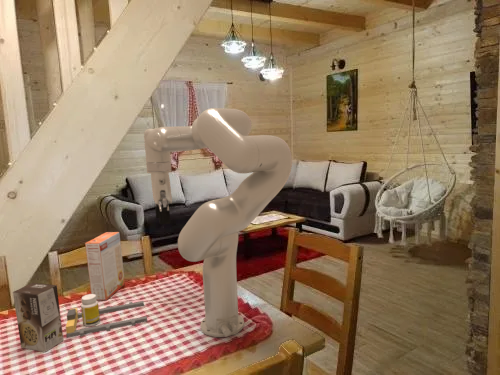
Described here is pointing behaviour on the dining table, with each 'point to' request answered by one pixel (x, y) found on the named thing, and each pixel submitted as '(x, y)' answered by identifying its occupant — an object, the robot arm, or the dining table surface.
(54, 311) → the coffee box
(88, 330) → the gray parallel rail frame
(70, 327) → the long yellow crossbar
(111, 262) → the cracker box
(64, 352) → the dining table surface
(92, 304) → the supplement bottle
